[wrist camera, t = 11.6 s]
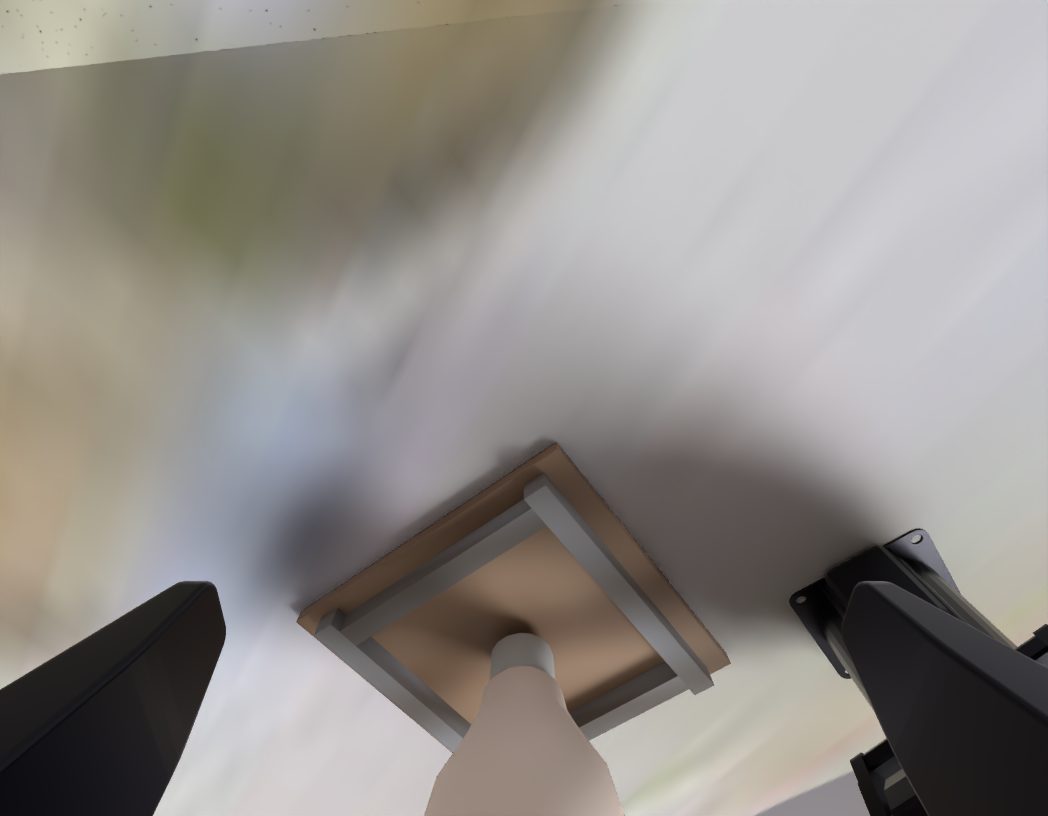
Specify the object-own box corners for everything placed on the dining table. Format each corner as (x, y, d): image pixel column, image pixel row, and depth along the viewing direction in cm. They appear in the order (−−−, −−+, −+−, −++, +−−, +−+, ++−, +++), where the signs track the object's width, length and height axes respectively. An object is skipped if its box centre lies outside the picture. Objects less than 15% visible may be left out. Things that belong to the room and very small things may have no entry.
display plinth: (726, 653, 26) (739, 681, 25) (493, 775, 29) (491, 806, 28) (556, 442, 22) (559, 461, 20) (301, 611, 25) (287, 639, 23)
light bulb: (419, 651, 25) (354, 978, 15) (511, 559, 23) (510, 860, 13) (530, 716, 27) (540, 1048, 16) (624, 635, 25) (702, 953, 15)
